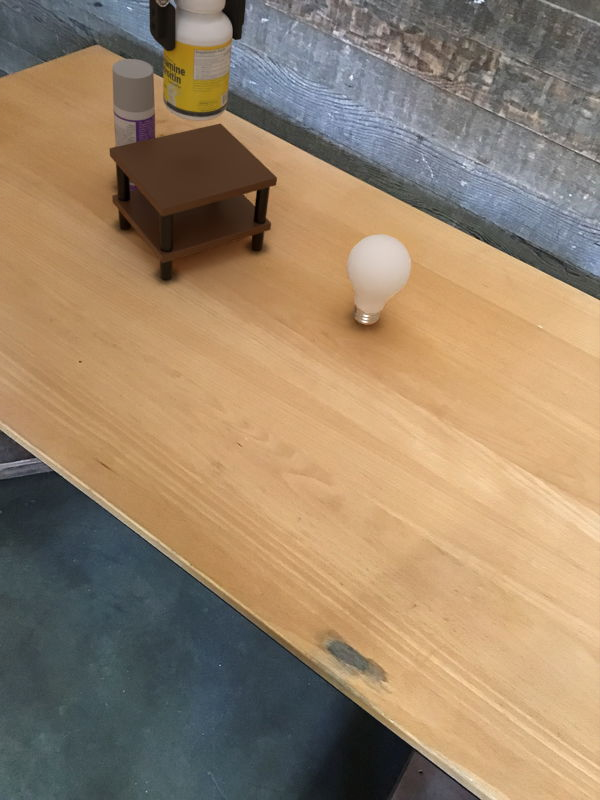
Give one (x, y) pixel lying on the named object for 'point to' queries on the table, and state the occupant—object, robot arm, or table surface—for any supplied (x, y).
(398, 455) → the table surface
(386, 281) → the light bulb
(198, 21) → the pill bottle
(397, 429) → the table surface
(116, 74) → the container
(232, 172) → the stand
